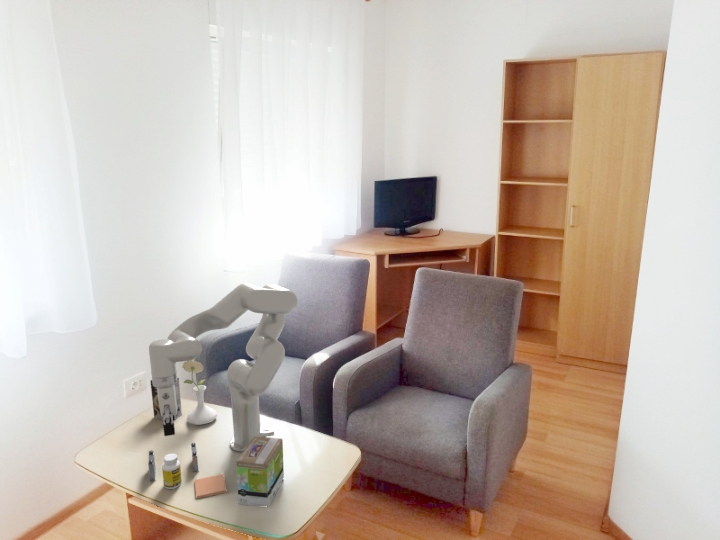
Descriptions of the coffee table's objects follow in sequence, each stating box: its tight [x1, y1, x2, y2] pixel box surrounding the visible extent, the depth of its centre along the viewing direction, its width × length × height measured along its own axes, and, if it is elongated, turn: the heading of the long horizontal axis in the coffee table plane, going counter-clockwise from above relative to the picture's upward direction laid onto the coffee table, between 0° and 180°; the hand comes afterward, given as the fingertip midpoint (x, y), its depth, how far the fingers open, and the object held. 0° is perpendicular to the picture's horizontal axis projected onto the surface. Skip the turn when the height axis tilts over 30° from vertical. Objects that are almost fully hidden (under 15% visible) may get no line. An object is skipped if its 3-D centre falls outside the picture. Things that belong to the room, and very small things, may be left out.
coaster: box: [194, 473, 227, 499], centre depth 172 cm, size 9×9×1 cm
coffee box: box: [150, 377, 183, 422], centre depth 216 cm, size 9×6×16 cm
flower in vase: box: [181, 359, 218, 426], centre depth 212 cm, size 13×11×25 cm
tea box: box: [235, 436, 285, 508], centre depth 168 cm, size 15×10×15 cm, turn 170°
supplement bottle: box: [161, 453, 182, 490], centre depth 173 cm, size 5×5×10 cm
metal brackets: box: [147, 442, 199, 482], centre depth 181 cm, size 15×8×7 cm, turn 110°
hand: (169, 427), depth 177 cm, fingers open, 9 cm apart
